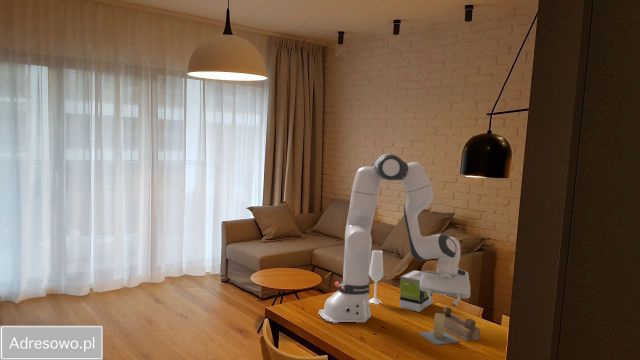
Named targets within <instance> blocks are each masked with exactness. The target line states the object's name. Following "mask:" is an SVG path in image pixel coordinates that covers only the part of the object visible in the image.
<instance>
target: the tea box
mask: <svg viewBox="0 0 640 360" xmlns="http://www.w3.org/2000/svg"><path fill="white" fill-rule="evenodd" d="M422 272H423V271H419V270H415V269H414V270H411V271H410V272H408V273H407V272H406V274H403V275H402V276H401V275H400V289H399V291H400V292H399V293H400V294H399V307H400V308H402V309H405V310H409V311H413V312H418V313H419V312H421V311H423V310H425V309H426V308H428V307H429V306H431V305H432V304H433V302H429V296H428V294H427V292H425V291H421V290H420V287H419V285H420V281H421V273H422ZM431 297H433V293H431Z"/></svg>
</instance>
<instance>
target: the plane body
mask: <svg viewBox="0 0 640 360" xmlns="http://www.w3.org/2000/svg"><path fill="white" fill-rule="evenodd" d="M442 314H445V324H444V330H447V331H448V332H450V333H451V334H453V335H455V336H457V337H459V338H460V339H462V340H464V341H465V342H469V341H476V340H477V341H478V340H480V339H481V328H479V327H478V326H476V320H475V319H472V318H465V319H462V318H461V317H459V316H457V315H455V314H453V312H452V307H449V306H444V307H443V312H442Z"/></svg>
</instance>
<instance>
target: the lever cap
mask: <svg viewBox="0 0 640 360" xmlns="http://www.w3.org/2000/svg"><path fill="white" fill-rule="evenodd" d="M433 319H434V321H433V322H434V325H433V331H434V338H438V339H443V338H444V331H445V328H444V324H445V314H443V313H439V312H435V313H434V318H433Z"/></svg>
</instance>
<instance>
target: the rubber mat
mask: <svg viewBox="0 0 640 360" xmlns="http://www.w3.org/2000/svg"><path fill="white" fill-rule="evenodd" d="M418 335H419V336H421V337H422V338H424V339H425V340H427V341H428V342H430V343H431V344H433V345H434V346H441V345H442V346H443V345H449V344H456V343H460V342H461V340H459V339H457V338H456V337H454V336H453V335H452V334H450V333H448V332H446V331H445V330H444V338H443V339H438V338H434V330H431V331H423V332H418Z"/></svg>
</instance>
